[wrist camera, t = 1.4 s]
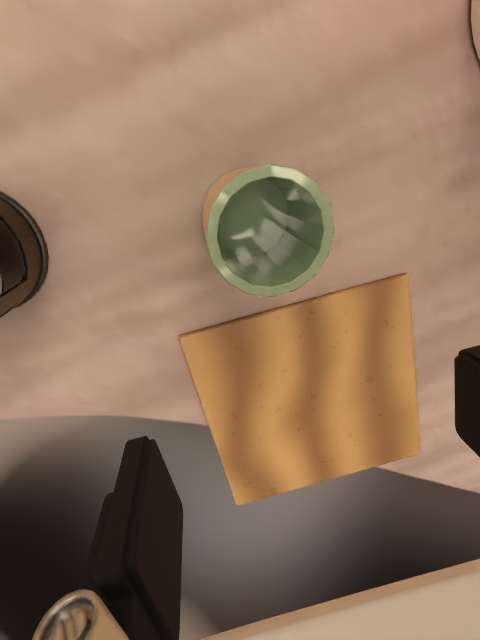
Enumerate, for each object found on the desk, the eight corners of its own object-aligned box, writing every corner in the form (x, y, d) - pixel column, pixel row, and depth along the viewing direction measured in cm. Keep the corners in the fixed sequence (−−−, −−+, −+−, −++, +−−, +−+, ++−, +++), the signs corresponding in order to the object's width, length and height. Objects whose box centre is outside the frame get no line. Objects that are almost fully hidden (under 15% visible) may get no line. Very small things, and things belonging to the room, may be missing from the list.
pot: (283, 156, 27) (322, 149, 19) (300, 248, 30) (341, 277, 22) (190, 180, 27) (190, 185, 19) (216, 271, 30) (225, 309, 22)
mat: (404, 272, 32) (408, 274, 31) (417, 449, 40) (420, 453, 39) (178, 335, 32) (178, 338, 31) (236, 501, 39) (236, 506, 39)
